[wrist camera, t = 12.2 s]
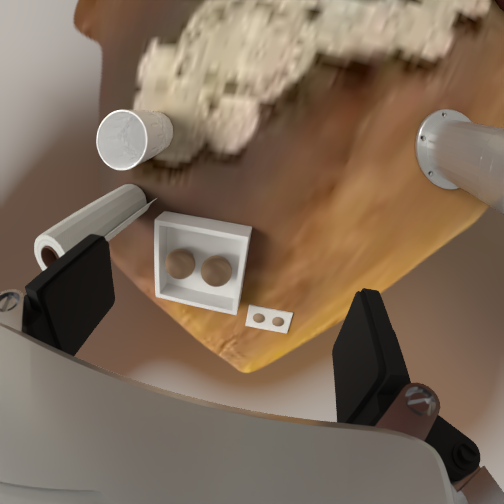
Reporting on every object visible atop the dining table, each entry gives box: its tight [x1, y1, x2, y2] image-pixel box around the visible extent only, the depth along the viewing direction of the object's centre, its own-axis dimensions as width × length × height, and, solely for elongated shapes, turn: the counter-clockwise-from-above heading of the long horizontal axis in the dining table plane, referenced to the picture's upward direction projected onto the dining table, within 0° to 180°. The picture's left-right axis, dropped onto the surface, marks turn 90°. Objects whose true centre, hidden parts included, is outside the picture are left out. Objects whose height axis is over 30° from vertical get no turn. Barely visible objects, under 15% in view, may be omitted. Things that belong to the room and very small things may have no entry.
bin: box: [154, 211, 252, 315], centre depth 48 cm, size 15×15×4 cm
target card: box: [245, 304, 293, 333], centre depth 54 cm, size 8×5×1 cm, turn 81°
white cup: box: [97, 110, 173, 170], centre depth 37 cm, size 8×8×10 cm
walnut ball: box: [165, 249, 195, 279], centre depth 47 cm, size 5×5×5 cm
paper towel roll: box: [34, 184, 157, 271], centre depth 37 cm, size 7×6×21 cm
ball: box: [201, 255, 232, 287], centre depth 47 cm, size 5×5×5 cm
